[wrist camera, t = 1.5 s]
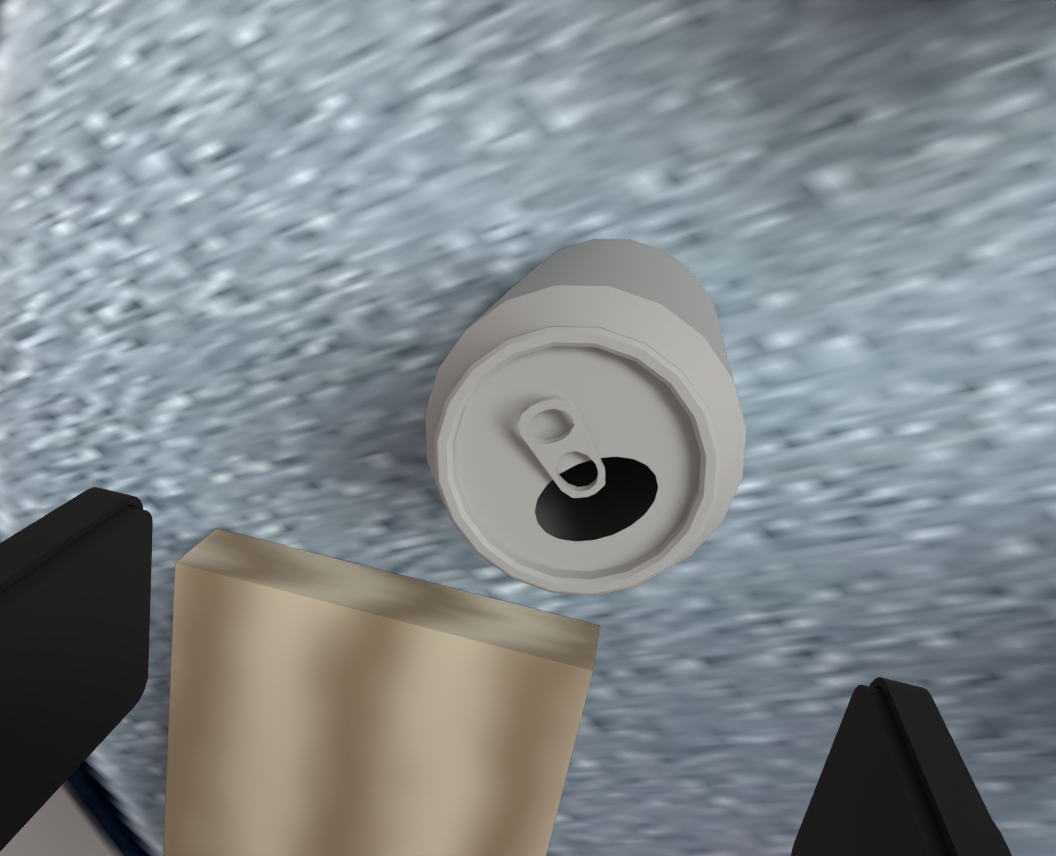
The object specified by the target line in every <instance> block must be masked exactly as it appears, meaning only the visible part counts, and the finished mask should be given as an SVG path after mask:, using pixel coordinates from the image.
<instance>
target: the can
mask: <svg viewBox="0 0 1056 856" xmlns="http://www.w3.org/2000/svg"><path fill="white" fill-rule="evenodd" d="M425 426H426V446H427V462H428V464H429V467H430V470H431V472H432V475H433V477H434V480H435V483H436V485H437V488H438V491H439V493H440V496H441V498H442V501H443V504H444V505H445V507H446V508H447V511H448V514H449V516H450V519H451V521H452V522H453V523H454V525H455V526H456V527H457V528H458V530H459V531H460V532H461V534H462V535H463V536H464V537H465V539H466V540H467V541H468V543H469V544H470V545H471V546H472V548H473V549H474V550H475V552H476V553H477V554H479V555H480V556H482V557H483V558H484V559H486V560H487V561H488V562H490V563H491V564H493V565H494V566H495V567H497V568H498V569H500V570H501V571H502V572H504V573H505V574H506V575H508V576H509V577H511V578H513V579H516V580H519V581H521V582H524V583H527V584H529V585H532V586H535V587H538V588H540V589H543V590H546V591H549V592H552V593H566V594H579V595H592V596H594V595H599V594H604V593H609V592H614V591H618V590H623V589H628V588H633V587H636V586H638V585H640V584H642V583H643V582H645V581H647V580H649V579H651V578H652V577H654V576H656V575H658V574H660V573H662V572H663V571H665V570H667V569H669V568H671V567H672V566H673V565H675V564H676V563H678V562H680V561H682V560H684V559H686V558H687V557H689V556H691V555H692V554H693V552H694V551H695V550H696V549H697V548H698V547H699V546H700V545H701V544H702V543H703V542H704V541H705V540H706V539H707V538H708V536H709V535H710V534H711V533H712V532H713V531H714V530H715V529H716V528H717V527H718V526H719V525H720V524H721V523H722V522H723V520H724V517H725V515H726V513H727V511H728V508H729V506H730V504H731V502H732V499H733V497H734V495H735V493H736V491H737V488H738V486H739V484H740V482H741V479H742V475H743V463H744V451H745V438H746V426H745V422H744V418H743V414H742V410H741V406H740V403H739V399H738V395H737V391H736V387H735V383H734V379H733V375H732V372H731V368H730V364H729V360H728V356H727V352H726V348H725V344H724V341H723V337H722V333H721V329H720V325H719V322H718V318H717V314H716V311H715V307H714V303H713V302H712V300H711V299H710V297H709V296H708V294H707V293H706V291H705V290H704V288H703V287H702V285H701V284H700V282H699V281H698V279H697V278H696V276H695V275H694V273H692V272H691V271H690V270H688V269H687V268H686V267H685V266H683V265H682V264H681V263H679V262H678V261H677V260H675V259H674V258H673V257H671V256H670V255H669V254H668V253H666V252H665V251H662V250H659V249H656V248H654V247H651V246H648V245H645V244H642V243H639V242H636V241H633V240H630V239H593V240H589V241H586V242H583V243H580V244H577V245H574V246H571V247H568V248H564V249H561V250H559V251H558V252H556V253H555V254H553V255H552V256H551V257H549V258H548V259H547V260H545V261H544V262H542V263H541V264H540V265H538V266H537V267H536V268H534V269H533V270H531V271H530V272H529V273H528V274H527V275H526V276H525V277H524V278H523V279H521V280H520V281H519V282H518V283H517V284H516V285H515V286H514V287H513V288H511V289H510V290H509V291H508V292H507V293H506V294H505V295H504V296H503V297H502V298H500V299H499V300H498V301H497V302H496V303H495V304H494V305H493V306H492V307H490V308H489V309H488V310H487V311H486V312H485V313H484V314H483V315H482V316H481V317H479V318H478V319H477V320H476V321H475V322H474V323H473V324H472V325H471V326H469V327H468V328H467V329H466V330H465V332H464V333H463V334H462V336H461V337H460V339H459V340H458V341H457V343H456V344H455V346H454V347H453V349H452V350H451V351H450V353H449V354H448V356H447V357H446V359H445V360H444V361H443V363H442V364H441V366H440V367H439V369H438V371H437V374H436V378H435V381H434V385H433V388H432V392H431V395H430V399H429V402H428V406H427V409H426V413H425Z"/></svg>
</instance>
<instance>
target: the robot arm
mask: <svg viewBox="0 0 1056 856" xmlns="http://www.w3.org/2000/svg"><path fill="white" fill-rule="evenodd" d="M152 524H153V523H152V516H151V514H150V513H149V512H148V511H146V510H143V505H142V503H141V500H140V499H138V498H137V497H135V496H131V495H127V494H123V493H118V492H114V491H110V490H106V489H102V488H96V487H93V488H91V489H88V490H86V491H85V492H83V493H81V494H80V495H78V496H76V497H75V498H73V499H72V500H70V501H68V502H67V503H65V504H63V505H62V506H60V507H58V508H57V509H55V510H54V511H52V512H50V513H49V514H47V515H45V516H44V517H42V518H41V519H39V520H37V521H36V522H34V523H32V524H31V525H29V526H27V527H26V528H24V529H23V530H21V531H19V532H18V533H16V534H14V535H13V536H11V537H10V538H8V539H6V540H5V541H3V542H1V543H0V851H1V850H2V849H3V848H4V847H5V846H6V845H7V844H8V842H9V841H10V840H11V839H12V838H13V837H14V836H15V835H16V834H17V833H18V832H19V831H20V829H21V828H22V827H23V826H24V825H25V824H26V823H27V822H28V821H29V820H30V819H31V818H32V817H33V815H34V814H35V813H36V812H37V811H38V810H39V809H40V808H41V807H42V806H43V805H44V804H45V802H46V801H47V800H48V799H49V798H50V797H51V796H52V795H53V794H54V793H55V792H56V791H57V790H58V788H59V787H60V786H61V785H62V784H63V783H64V782H65V781H66V780H67V779H68V778H69V777H70V775H71V774H72V773H73V772H74V771H75V770H76V769H77V768H78V767H79V766H80V765H81V764H82V763H83V761H84V760H85V759H86V758H87V757H88V756H89V755H90V754H91V753H92V752H93V751H94V750H95V748H96V747H97V746H98V745H99V744H100V743H101V742H102V741H103V740H104V739H105V738H106V737H107V735H108V734H109V733H110V732H111V731H112V730H113V729H114V728H115V727H116V726H117V725H118V724H119V723H120V721H121V720H122V719H123V718H124V717H125V716H126V715H127V714H128V713H129V712H130V711H131V710H132V708H133V707H134V706H135V705H136V704H137V702H138V701H139V700H140V698H141V696H142V694H143V692H144V690H145V687H146V683H147V679H148V659H149V625H150V592H151V558H152ZM791 856H1012V855H1011V853H1010V850H1009V848H1008V846H1007V844H1006V842H1005V840H1004V838H1003V836H1002V834H1001V832H1000V831H999V829H998V828H997V826H996V825H995V823H994V822H993V820H992V819H991V817H990V815H989V813H988V811H987V809H986V807H985V805H984V802H983V800H982V798H981V796H980V794H979V792H978V790H977V788H976V786H975V784H974V782H973V780H972V778H971V776H970V774H969V772H968V770H967V768H966V766H965V764H964V762H963V760H962V758H961V756H960V753H959V751H958V749H957V747H956V745H955V743H954V741H953V739H952V737H951V735H950V733H949V731H948V729H947V727H946V725H945V723H944V721H943V719H942V717H941V715H940V713H939V711H938V709H937V707H936V704H935V702H934V700H933V698H932V696H931V694H930V693H929V692H928V690H927V689H924V688H922V687H918V686H913V685H909V684H905V683H901V682H897V681H893V680H889V679H885V678H881V677H879V678H876V679H874V681H873V682H872V683H871V684H870V686H869V687H868V686H864V685H859V686H857V688H856V689H855V690H854V692H853V694H852V697H851V699H850V702H849V704H848V707H847V709H846V712H845V714H844V717H843V720H842V722H841V725H840V727H839V730H838V732H837V735H836V737H835V740H834V742H833V745H832V748H831V750H830V753H829V755H828V758H827V760H826V763H825V765H824V768H823V771H822V773H821V776H820V778H819V781H818V783H817V786H816V788H815V791H814V794H813V796H812V799H811V801H810V804H809V806H808V809H807V811H806V814H805V817H804V819H803V822H802V824H801V827H800V829H799V832H798V834H797V837H796V840H795V842H794V845H793V848H792V854H791Z"/></svg>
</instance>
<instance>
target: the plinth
mask: <svg viewBox="0 0 1056 856" xmlns="http://www.w3.org/2000/svg"><path fill="white" fill-rule="evenodd" d="M599 629H600V625H596V624H592V623H588V622H584V621H580V620H576V619H572V618H568V617H564V616H560V615H556V614H552V613H548V612H544V611H540V610H537V609H533V608H529V607H525V606H521V605H517V604H513V603H509V602H505V601H501V600H497V599H493V598H489V597H485V596H481V595H477V594H473V593H469V592H465V591H462V590H458V589H454V588H450V587H446V586H442V585H438V584H434V583H430V582H426V581H422V580H418V579H414V578H410V577H406V576H402V575H398V574H394V573H391V572H387V571H383V570H379V569H375V568H371V567H367V566H363V565H359V564H355V563H351V562H347V561H343V560H339V559H335V558H331V557H327V556H323V555H320V554H316V553H312V552H308V551H304V550H300V549H296V548H292V547H288V546H284V545H280V544H276V543H272V542H268V541H264V540H260V539H256V538H252V537H249V536H245V535H241V534H237V533H233V532H229V531H225V530H221V529H217V528H216V529H215V530H214V531H213V532H211V533H210V534H209V535H208V536H207V537H206V538H204V539H203V540H202V541H201V542H200V543H198V544H197V545H196V546H195V547H194V548H192V549H191V550H190V551H189V552H188V553H187V554H185V555H184V556H183V557H182V558H181V559H179V560H178V561H177V562H176V563H175V584H174V608H173V632H172V656H171V680H170V704H169V728H168V752H167V776H166V800H165V824H164V848H163V856H546V854H547V850H548V846H549V842H550V838H551V834H552V830H553V826H554V822H555V818H556V815H557V811H558V807H559V803H560V799H561V795H562V791H563V787H564V783H565V779H566V775H567V771H568V768H569V764H570V760H571V756H572V752H573V748H574V744H575V740H576V736H577V732H578V728H579V725H580V721H581V717H582V713H583V709H584V705H585V701H586V697H587V693H588V689H589V685H590V681H591V678H592V674H593V669H594V662H595V656H596V649H597V642H598V636H599Z"/></svg>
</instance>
